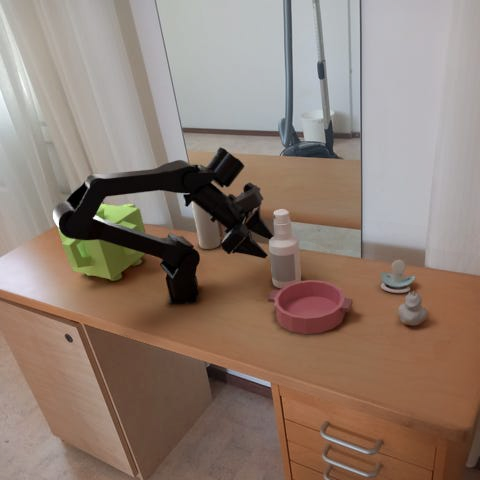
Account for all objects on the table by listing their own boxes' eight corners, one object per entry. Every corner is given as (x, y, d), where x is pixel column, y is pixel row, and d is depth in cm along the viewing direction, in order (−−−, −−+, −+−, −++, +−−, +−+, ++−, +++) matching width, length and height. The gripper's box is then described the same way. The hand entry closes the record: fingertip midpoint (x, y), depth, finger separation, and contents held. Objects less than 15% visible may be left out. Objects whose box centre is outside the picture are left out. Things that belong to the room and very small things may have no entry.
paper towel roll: (213, 251, 136) (200, 176, 124) (195, 248, 139) (181, 174, 127) (227, 239, 141) (215, 166, 129) (209, 237, 144) (197, 164, 132)
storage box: (115, 298, 122) (94, 235, 112) (52, 283, 132) (29, 225, 123) (173, 252, 139) (160, 194, 129) (114, 242, 149) (97, 187, 139)
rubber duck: (393, 327, 99) (395, 293, 94) (403, 309, 103) (405, 276, 99) (421, 332, 96) (425, 298, 92) (429, 314, 100) (433, 281, 96)
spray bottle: (268, 279, 120) (261, 210, 110) (294, 272, 121) (289, 203, 111) (278, 292, 115) (272, 221, 104) (305, 285, 116) (301, 213, 105)
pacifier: (409, 297, 107) (416, 282, 111) (411, 273, 103) (418, 258, 107) (376, 292, 110) (383, 278, 114) (376, 268, 106) (384, 254, 110)
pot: (260, 327, 104) (258, 312, 102) (282, 291, 115) (281, 276, 113) (342, 339, 97) (342, 323, 95) (358, 300, 108) (358, 284, 106)
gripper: (228, 194, 97) (287, 243, 101) (246, 163, 112) (297, 206, 116) (197, 231, 104) (254, 276, 107) (218, 197, 118) (267, 237, 122)
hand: (269, 247), depth 113 cm, fingers open, 9 cm apart
